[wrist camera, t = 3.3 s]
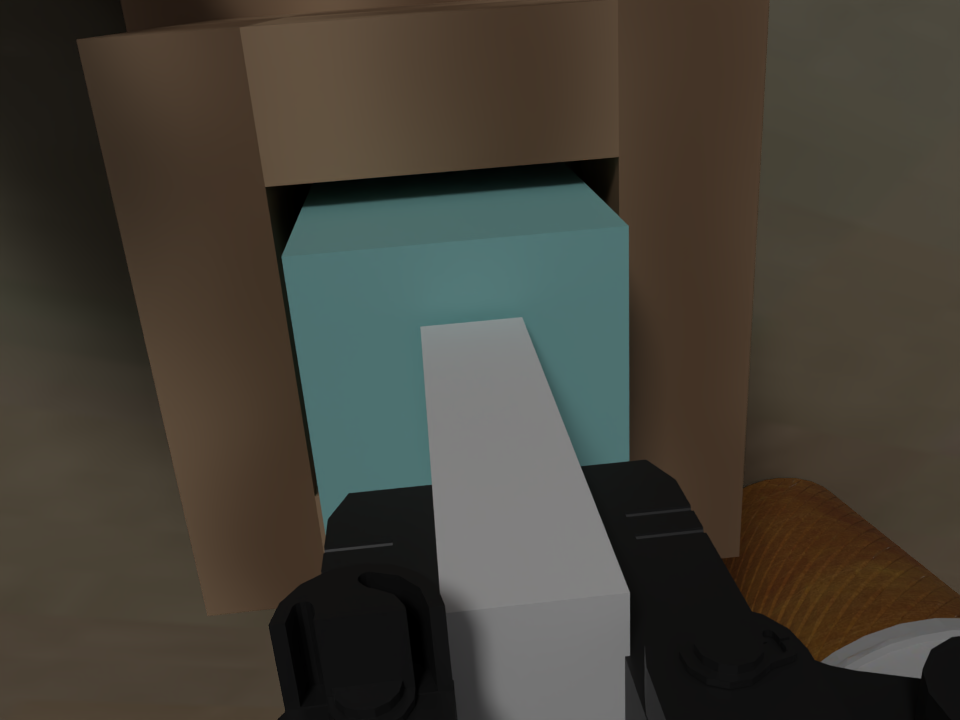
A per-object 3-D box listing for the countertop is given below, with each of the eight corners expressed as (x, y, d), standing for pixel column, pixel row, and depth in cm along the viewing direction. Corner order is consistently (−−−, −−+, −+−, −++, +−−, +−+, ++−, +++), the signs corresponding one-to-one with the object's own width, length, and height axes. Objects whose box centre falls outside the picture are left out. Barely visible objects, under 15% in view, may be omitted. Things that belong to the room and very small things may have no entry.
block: (355, 311, 26) (328, 552, 15) (332, 133, 24) (281, 257, 13) (527, 295, 26) (629, 519, 15) (519, 118, 24) (628, 226, 13)
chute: (219, 440, 31) (109, 724, 19) (115, -72, 25) (-147, -134, 13) (673, 394, 32) (843, 638, 20) (682, -110, 26) (939, -202, 14)
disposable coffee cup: (934, 477, 34) (1194, 708, 23) (816, 667, 37) (996, 951, 26) (717, 407, 32) (887, 625, 21) (612, 614, 35) (712, 898, 24)
